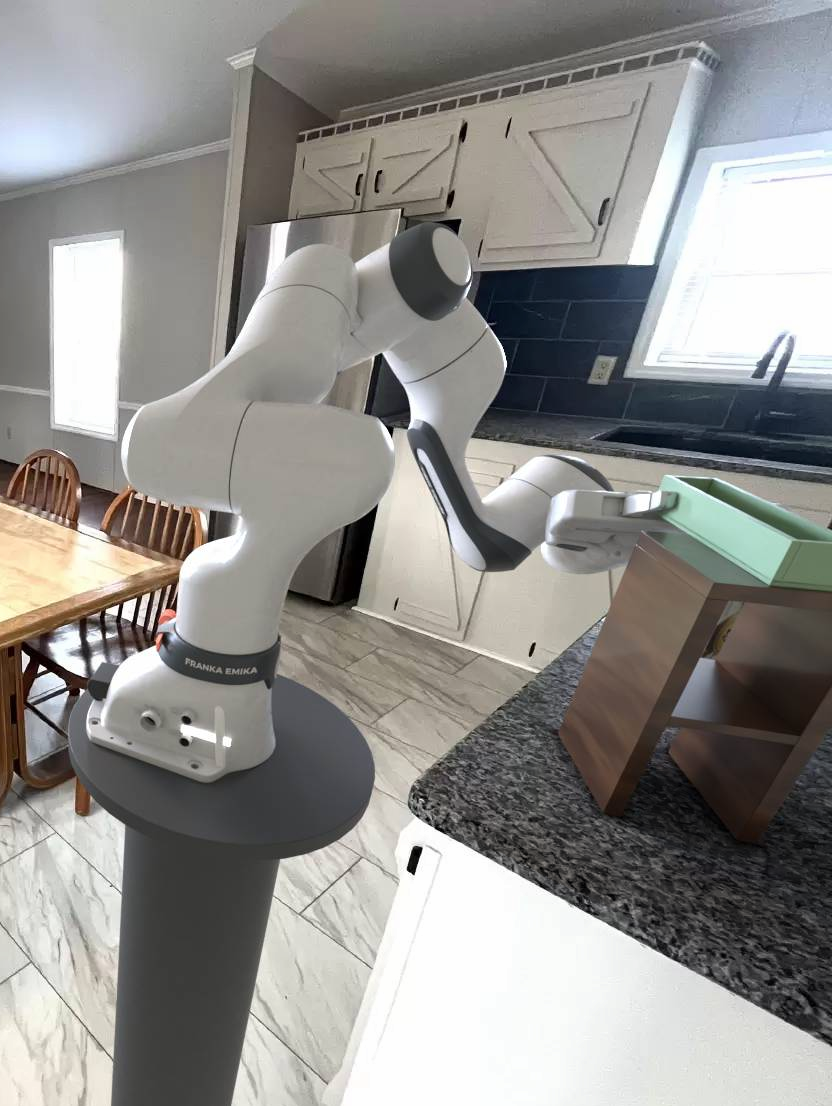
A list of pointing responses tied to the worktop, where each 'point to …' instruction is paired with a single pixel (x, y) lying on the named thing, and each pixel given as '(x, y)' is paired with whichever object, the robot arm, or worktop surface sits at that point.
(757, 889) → the worktop surface
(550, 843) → the worktop surface
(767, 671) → the shelf stand
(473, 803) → the worktop surface
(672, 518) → the storage tray
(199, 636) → the robot arm
